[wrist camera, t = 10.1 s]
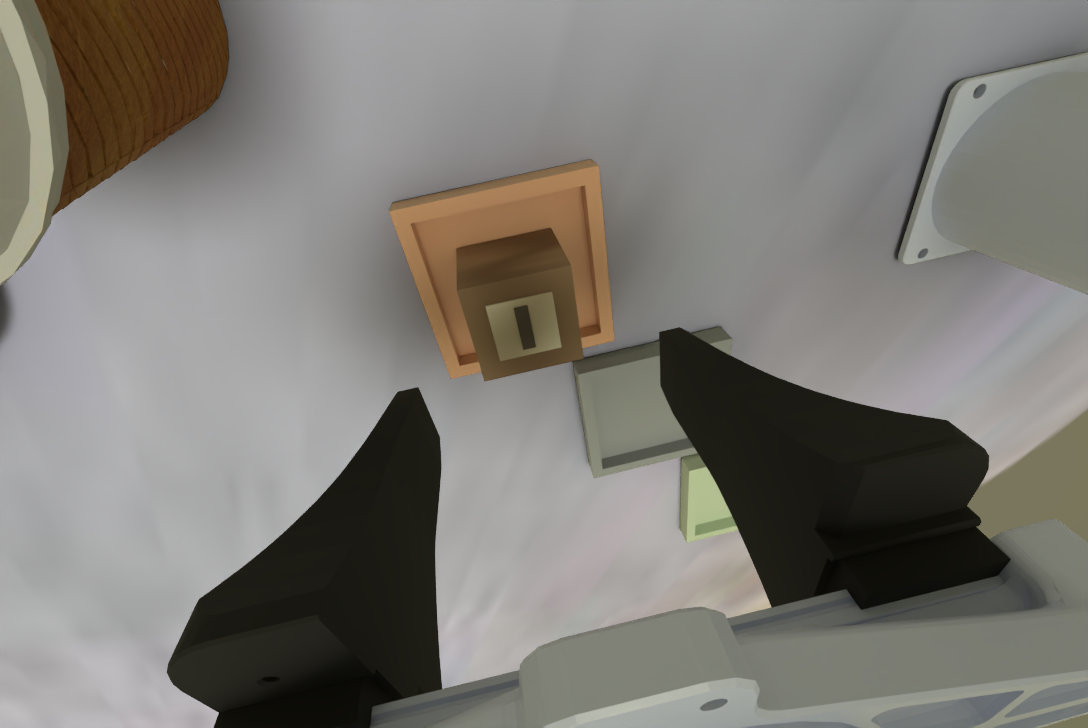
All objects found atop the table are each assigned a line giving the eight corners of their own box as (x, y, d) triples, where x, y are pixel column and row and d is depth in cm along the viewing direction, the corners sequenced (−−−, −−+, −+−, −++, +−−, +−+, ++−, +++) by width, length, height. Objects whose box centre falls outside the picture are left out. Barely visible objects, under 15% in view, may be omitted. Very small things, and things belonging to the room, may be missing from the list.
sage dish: (799, 428, 29) (811, 441, 28) (781, 503, 34) (791, 516, 33) (681, 457, 29) (689, 471, 28) (680, 528, 34) (686, 542, 33)
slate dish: (720, 326, 24) (732, 338, 23) (712, 433, 28) (721, 447, 27) (572, 361, 23) (577, 374, 22) (589, 463, 28) (593, 478, 27)
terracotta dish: (590, 159, 18) (598, 165, 17) (607, 328, 23) (614, 340, 22) (392, 202, 18) (388, 211, 17) (451, 364, 22) (450, 378, 21)
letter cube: (550, 227, 19) (571, 266, 15) (563, 310, 21) (584, 359, 18) (456, 248, 19) (456, 292, 15) (480, 329, 21) (485, 382, 18)
